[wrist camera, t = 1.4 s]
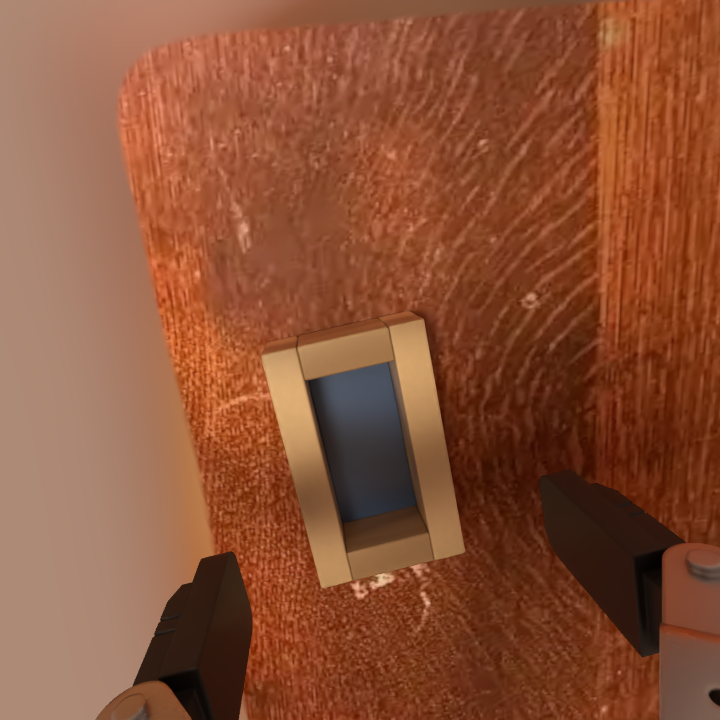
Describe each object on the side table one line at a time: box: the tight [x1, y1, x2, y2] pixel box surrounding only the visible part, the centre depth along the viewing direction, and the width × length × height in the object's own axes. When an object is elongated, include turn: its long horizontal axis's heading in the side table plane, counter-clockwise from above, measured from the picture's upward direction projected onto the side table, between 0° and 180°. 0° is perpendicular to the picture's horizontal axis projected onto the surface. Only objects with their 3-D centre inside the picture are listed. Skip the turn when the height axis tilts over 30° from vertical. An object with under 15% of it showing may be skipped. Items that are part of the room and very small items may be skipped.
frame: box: [261, 311, 465, 588], centre depth 18 cm, size 9×6×2 cm, turn 12°
